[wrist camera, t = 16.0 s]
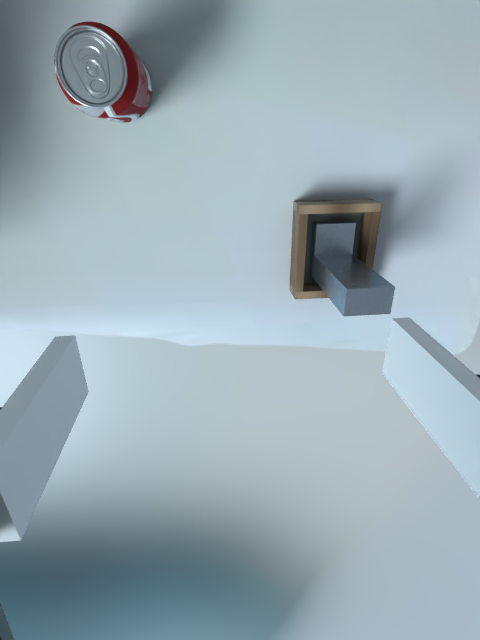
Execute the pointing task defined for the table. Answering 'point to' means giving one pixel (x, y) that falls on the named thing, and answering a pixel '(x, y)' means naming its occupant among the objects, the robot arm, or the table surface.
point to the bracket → (346, 271)
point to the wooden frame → (328, 210)
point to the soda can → (102, 73)
